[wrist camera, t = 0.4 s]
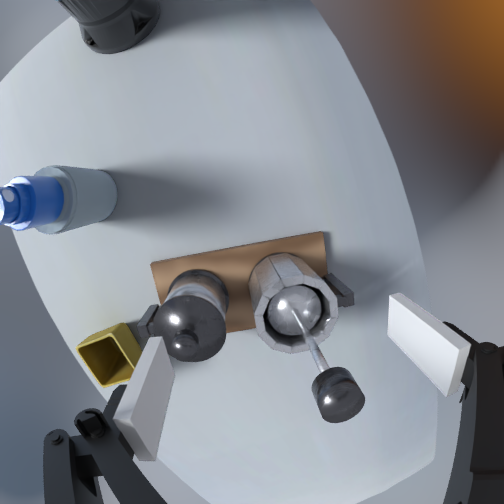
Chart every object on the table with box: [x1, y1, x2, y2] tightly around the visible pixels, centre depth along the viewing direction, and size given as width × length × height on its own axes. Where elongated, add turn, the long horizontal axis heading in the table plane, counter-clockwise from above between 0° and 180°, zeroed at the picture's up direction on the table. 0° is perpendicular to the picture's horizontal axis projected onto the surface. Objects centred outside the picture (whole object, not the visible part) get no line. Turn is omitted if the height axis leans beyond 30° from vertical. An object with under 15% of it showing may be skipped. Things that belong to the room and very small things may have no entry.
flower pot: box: [76, 323, 142, 388], centre depth 44 cm, size 9×9×9 cm
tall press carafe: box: [248, 252, 354, 354], centre depth 41 cm, size 10×13×13 cm
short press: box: [137, 269, 229, 362], centre depth 38 cm, size 10×13×16 cm
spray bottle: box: [0, 165, 117, 234], centre depth 31 cm, size 9×9×25 cm
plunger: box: [267, 284, 365, 423], centre depth 27 cm, size 7×7×19 cm
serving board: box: [150, 231, 328, 333], centre depth 47 cm, size 14×28×2 cm, turn 100°
